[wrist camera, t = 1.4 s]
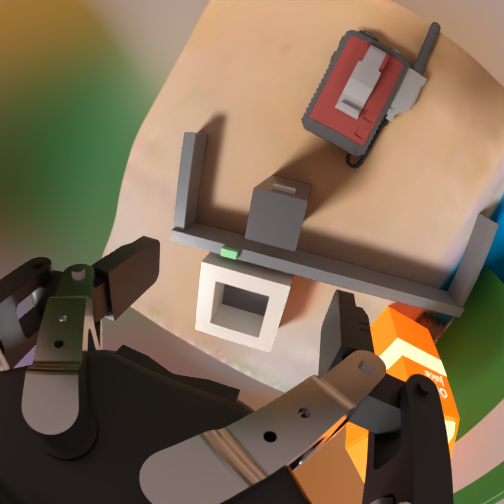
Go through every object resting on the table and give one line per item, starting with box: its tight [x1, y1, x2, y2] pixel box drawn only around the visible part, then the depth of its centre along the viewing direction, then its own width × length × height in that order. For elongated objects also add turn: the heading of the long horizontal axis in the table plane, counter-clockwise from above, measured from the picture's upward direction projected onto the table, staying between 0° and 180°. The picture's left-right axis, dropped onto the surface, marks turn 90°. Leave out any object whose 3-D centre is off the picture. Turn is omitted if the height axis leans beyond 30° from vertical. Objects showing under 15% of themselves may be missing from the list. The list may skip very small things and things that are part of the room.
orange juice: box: [346, 306, 460, 484], centre depth 22 cm, size 8×9×20 cm
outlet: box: [195, 252, 293, 352], centre depth 31 cm, size 9×9×4 cm
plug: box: [245, 175, 311, 252], centre depth 24 cm, size 4×4×8 cm
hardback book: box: [435, 266, 504, 504], centre depth 17 cm, size 18×7×24 cm, turn 165°
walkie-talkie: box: [302, 22, 440, 169], centre depth 19 cm, size 9×4×20 cm
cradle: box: [171, 132, 499, 318], centre depth 25 cm, size 33×11×4 cm, turn 80°
